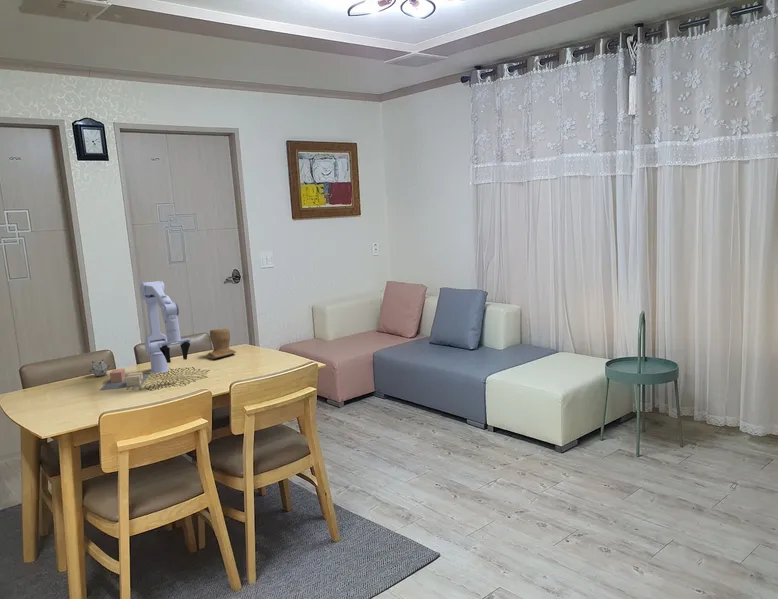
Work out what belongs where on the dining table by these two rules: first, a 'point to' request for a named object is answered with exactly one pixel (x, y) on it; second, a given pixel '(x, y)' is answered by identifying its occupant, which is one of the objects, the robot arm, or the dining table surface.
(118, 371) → the terracotta block
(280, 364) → the dining table surface
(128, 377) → the maple block
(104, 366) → the game die
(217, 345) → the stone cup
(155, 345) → the robot arm
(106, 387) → the mat
